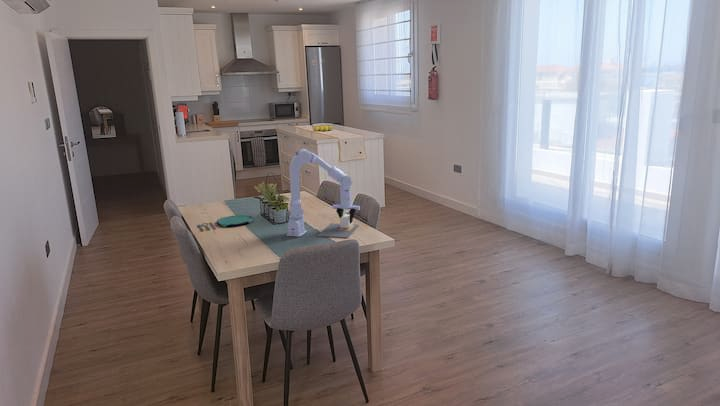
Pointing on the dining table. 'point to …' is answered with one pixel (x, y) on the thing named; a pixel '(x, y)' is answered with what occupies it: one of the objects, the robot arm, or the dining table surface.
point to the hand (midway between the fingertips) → (346, 222)
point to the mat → (337, 231)
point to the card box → (345, 221)
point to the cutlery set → (230, 221)
